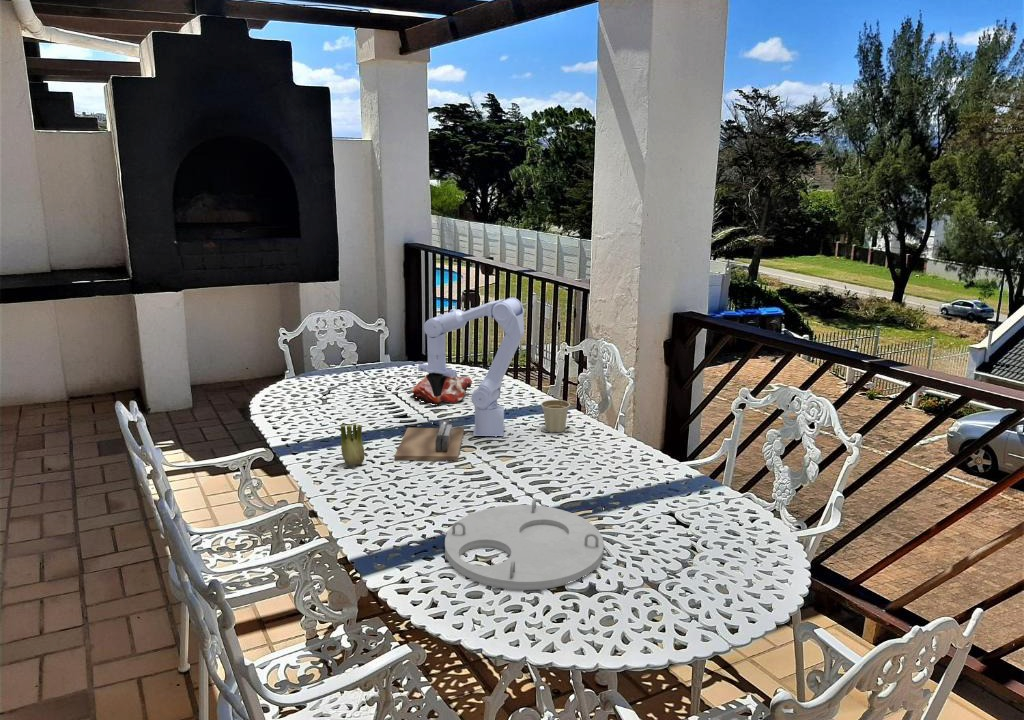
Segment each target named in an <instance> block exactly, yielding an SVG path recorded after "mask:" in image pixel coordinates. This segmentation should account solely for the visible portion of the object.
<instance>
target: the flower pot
mask: <svg viewBox="0 0 1024 720" xmlns="http://www.w3.org/2000/svg"><path fill="white" fill-rule="evenodd" d="M540 406H541V407H542V410H543V418H544V425H545V426H544V427H545V430H546V431H547V432H550V433H560V432H561V433H562V432H564V431H565V430H566V425H567V420H568V419H567V418H568V412H569V410H570V406H571V403H570V402H569V401H566V400H562V399H550V400H549V399H548V400H544V401H542V402H541V403H540Z"/></svg>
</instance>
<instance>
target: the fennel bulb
mask: <svg viewBox="0 0 1024 720" xmlns="http://www.w3.org/2000/svg"><path fill="white" fill-rule="evenodd" d="M339 427H340V434H341V435H340V436H341V440H340V441H341V442H340V444H341V447H340V448H341V456H342V459H343V461H344V463H345V464H346V465H347V466H350V467H358V466H360V465H361V464H362V463H364V462H365V461H364V460H365V447H364V443H363V439H362V438H363V436H362V435H363V434H362V429H363V425H362V424H356V423H352V424H348V425H345V424H343V425H339Z"/></svg>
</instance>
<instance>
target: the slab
mask: <svg viewBox="0 0 1024 720" xmlns="http://www.w3.org/2000/svg"><path fill="white" fill-rule="evenodd" d="M531 502H532V503H531V504H510V505H500V506H494V507H493V506H492V507H489V508H485V509H481V510H477V511H475V512H473V513H470V514H468V515H466V516H464V517H462V518H461V519H459V520H457V521H455V522H454V523H453V524H452V526H451V527H450V528H448V531H447V533H446V534H445V538H444V555H445V557H446V559H447V561H448V562H449V564H450V565H451V566H452V568H454V569H455V570H456V571H457V572H459V573H460V574H461V575H463V576H464V577H465V578H468V579H470V580H472V581H474V582H477V583H480V584H483V585H486V586H490V587H494V588H500V589H506V590H515V591H516V590H518V591H519V590H521V591H529V590H530V591H531V590H532V591H533V590H534V591H536V590H546V589H552V588H558V587H563V586H566V585H567V584H566V583H568V582H570V581H574V580H577V579H579V578H581V577H583V576H585V575H587V574H588V575H590V574H591V573H592V572H594V571H595V570H596V569H597V568H598V567H599V565H601V562H602V560H603V557H604V549H605V547H604V546H605V544H604V538H603V536H602V533H601V532H600V531H599V529H598V528H597V527H596V526H595V525H594V524H593V523H592V522H590V521H588V520H587V519H585V518H583V516H580V515H577V514H575V513H573V512H570V511H566V510H564V509H560V508H556V507H551V506H544V505H537V500H536V498H532V501H531ZM478 548H495V549H498V550H502V551H503V552H505V553H507V555H509V557H508V558H507V559H505V560H504V561H502V562H500V563H497V564H492V565H479V564H478V565H477V564H472V563H469V562H466V561H465V560H463V559H462V558H461V556H462V555H463V554H464V553H465V552H467V551H470V550H472V549H478ZM597 566H598V567H597ZM596 567H597V568H596ZM595 568H596V569H595ZM594 569H595V570H594ZM593 570H594V571H593ZM590 572H591V573H590ZM589 573H590V574H589ZM588 575H587V576H588ZM585 577H586V576H585ZM583 578H584V577H583ZM581 579H582V578H581ZM579 580H580V579H579ZM577 581H578V580H577ZM565 584H566V585H565Z"/></svg>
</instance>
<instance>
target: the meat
mask: <svg viewBox="0 0 1024 720" xmlns="http://www.w3.org/2000/svg"><path fill="white" fill-rule="evenodd" d="M450 369H451V370H453V369H452V368H450ZM426 375H429V373H428V372H427V374H426ZM426 375H425V376H424V377H423V379H421V380H420V381H418V383H417V384H416V385H415V386H414V387H413V388H412V389H411V392H412V393H413V396H412V398H413V397H417V398H416V400H417V399H421V401H424V402H425V403H432V404H438V405H439V403H440V402H446V403H452V404H454V403H457V402H460V401H461V400H462V399H463V398H464V396H466V391H467V389H469V388H471V386H472V383H473V381H472V379H471V378H470V377H467V376H458V374H457V372H456V377H454V378H450V377H447V379H446V381H445V383H444V385H443V389H442V393H441V396H438V397H436V396H434V394H433V391H432V387H431V385H430V383H429V381H428V379H427V378H426Z"/></svg>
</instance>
